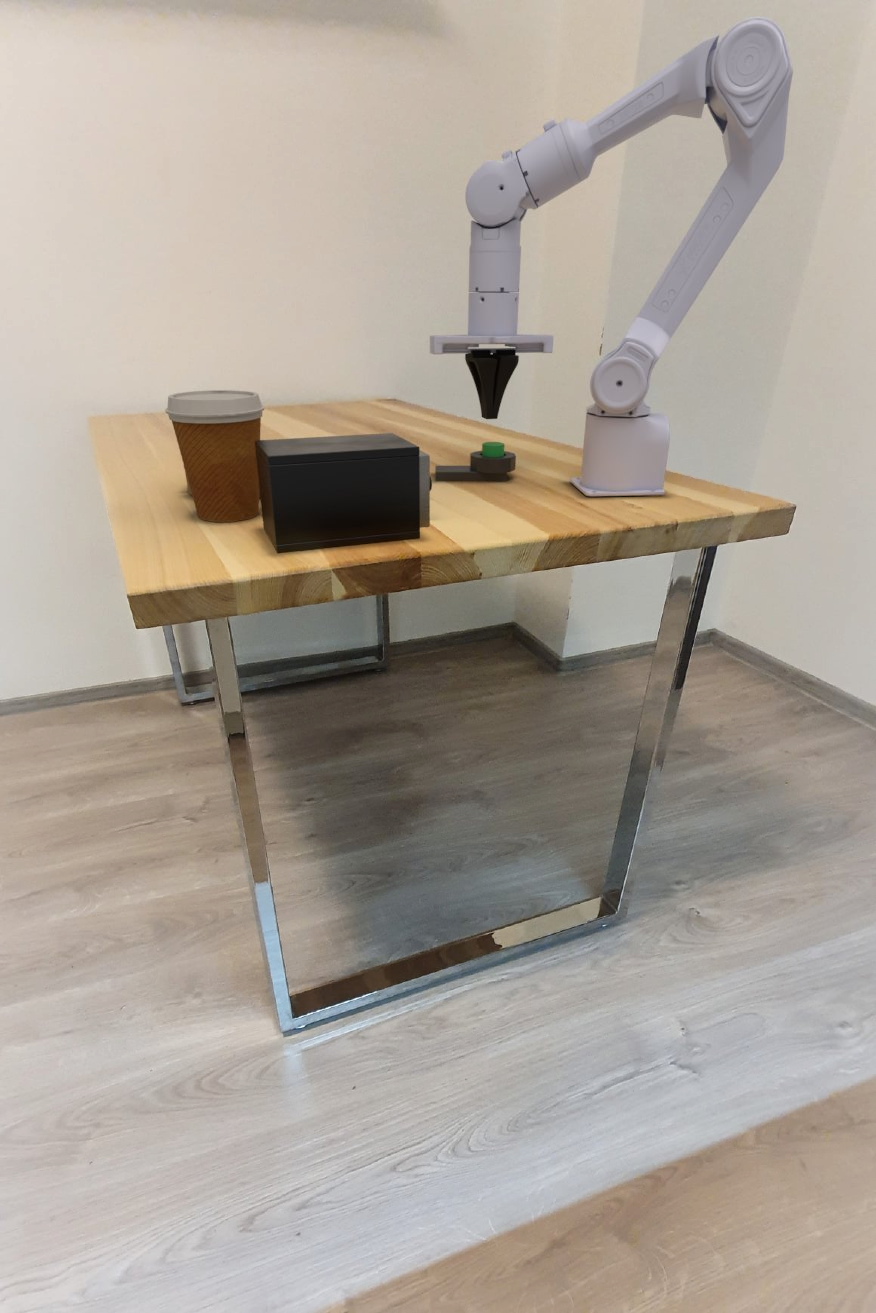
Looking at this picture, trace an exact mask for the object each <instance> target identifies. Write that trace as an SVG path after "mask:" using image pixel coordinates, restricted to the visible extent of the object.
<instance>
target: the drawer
mask: <svg viewBox="0 0 876 1313" xmlns="http://www.w3.org/2000/svg"><path fill="white" fill-rule="evenodd" d="M419 451H420V455H419V457H420V529H421V528H429V527H430V524H431V519H430V518H431V517H430V516H431V512H430V511H431V508H430V507H431V498H430V497H431V491H432V488H433V480H432V477H431V473H430V471H431V469H430V468H431V466H430V465H431V464H430V463H431V460H430V459H431V455H430V454H428V453H427V452H425V451H423V450H421V449H419Z"/></svg>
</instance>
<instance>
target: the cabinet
mask: <svg viewBox="0 0 876 1313" xmlns="http://www.w3.org/2000/svg"><path fill="white" fill-rule="evenodd" d="M255 449H256V460H257V470H258V479H259V489H260V497H259V499H260V506H261V516H262V517H261V518H262V525H263V526H262V527H263V530H264V532H265V534H266V536H267V538H268V539H269V541H270V543H271V544H272V547H273V548H274V550H275V552H276V554H286V553H297V552H306V551H314V550H317V551H318V550H324V549H334V548H343V547H344V548H345V547H352V546H353V547H354V546H355V547H356V546H364V545H373V544H382V543H383V544H384V543H392V542H402V541H403V542H404V541H410V540H420V539H421V528H420V457H419V455H420V451H419V450H420V446H418V445H416V444H415V443H412V442H411V441H408V440H407V439H405V438H403V437H401V436H399V435H397V434H395V433H393V432H385V433H383V432H382V433H368V434H366V433H365V434H351V435H350V434H349V435H331V436H312V437H311V436H310V437H293V438H277V439H276V438H275V439H260V440H255Z"/></svg>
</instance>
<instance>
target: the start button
mask: <svg viewBox="0 0 876 1313" xmlns="http://www.w3.org/2000/svg"><path fill="white" fill-rule="evenodd" d="M481 451H482V456H486V457H502V456H504V451H505V443H503V442H499V441H486V442H483V443H482V444H481Z"/></svg>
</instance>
